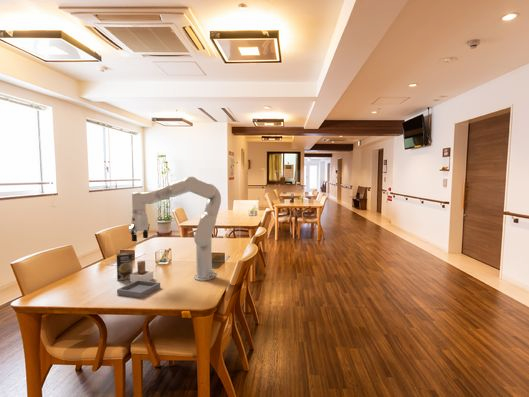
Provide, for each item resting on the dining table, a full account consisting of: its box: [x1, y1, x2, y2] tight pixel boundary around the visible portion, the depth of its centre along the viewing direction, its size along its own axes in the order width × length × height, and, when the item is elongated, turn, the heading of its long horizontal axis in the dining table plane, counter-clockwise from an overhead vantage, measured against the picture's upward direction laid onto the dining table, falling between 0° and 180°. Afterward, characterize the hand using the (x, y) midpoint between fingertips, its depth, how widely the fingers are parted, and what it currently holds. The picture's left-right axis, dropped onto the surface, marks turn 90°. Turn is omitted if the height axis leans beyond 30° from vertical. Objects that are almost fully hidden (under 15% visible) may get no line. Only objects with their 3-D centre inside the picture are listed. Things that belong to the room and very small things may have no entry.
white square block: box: [129, 269, 154, 283], centre depth 189 cm, size 10×10×5 cm
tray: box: [116, 280, 161, 299], centre depth 171 cm, size 16×16×3 cm
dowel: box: [136, 260, 146, 275], centre depth 188 cm, size 4×4×12 cm
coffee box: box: [115, 252, 134, 282], centre depth 192 cm, size 9×6×16 cm
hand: (140, 239), depth 187 cm, fingers open, 9 cm apart
